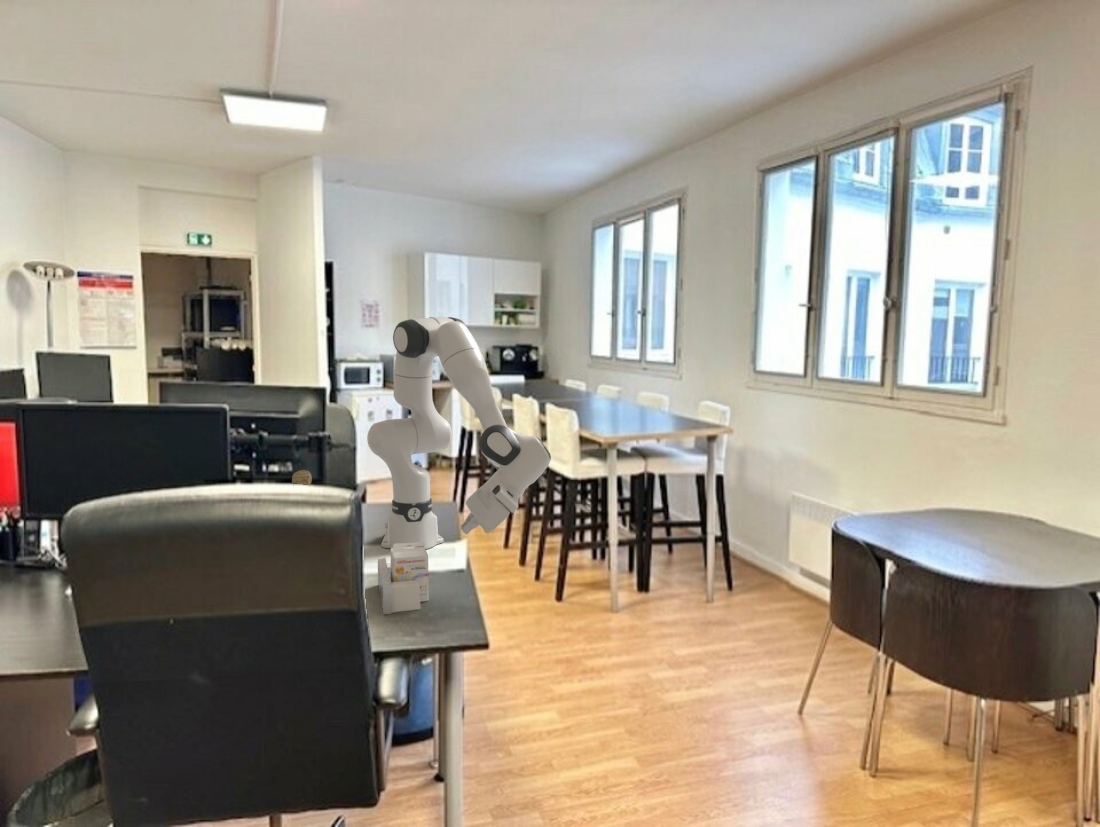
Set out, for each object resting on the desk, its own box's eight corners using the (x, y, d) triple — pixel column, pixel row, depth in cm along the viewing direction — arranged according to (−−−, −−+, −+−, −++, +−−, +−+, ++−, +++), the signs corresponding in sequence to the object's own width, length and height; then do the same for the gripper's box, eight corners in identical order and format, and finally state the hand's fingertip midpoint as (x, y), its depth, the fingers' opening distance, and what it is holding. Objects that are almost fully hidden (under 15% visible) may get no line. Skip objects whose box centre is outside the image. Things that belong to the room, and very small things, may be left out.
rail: (378, 585, 187) (377, 558, 186) (386, 584, 188) (385, 558, 187) (383, 614, 168) (382, 586, 167) (392, 613, 169) (391, 585, 168)
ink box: (393, 605, 174) (392, 551, 172) (390, 592, 182) (389, 541, 180) (429, 601, 177) (428, 548, 175) (424, 589, 185) (423, 538, 183)
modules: (386, 585, 187) (385, 563, 186) (412, 583, 189) (411, 560, 188) (392, 612, 170) (391, 587, 169) (420, 609, 172) (419, 585, 171)
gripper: (484, 473, 192) (447, 511, 191) (502, 493, 173) (461, 535, 172) (500, 488, 194) (464, 526, 193) (519, 510, 175) (479, 552, 174)
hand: (463, 530), depth 182 cm, fingers closed
